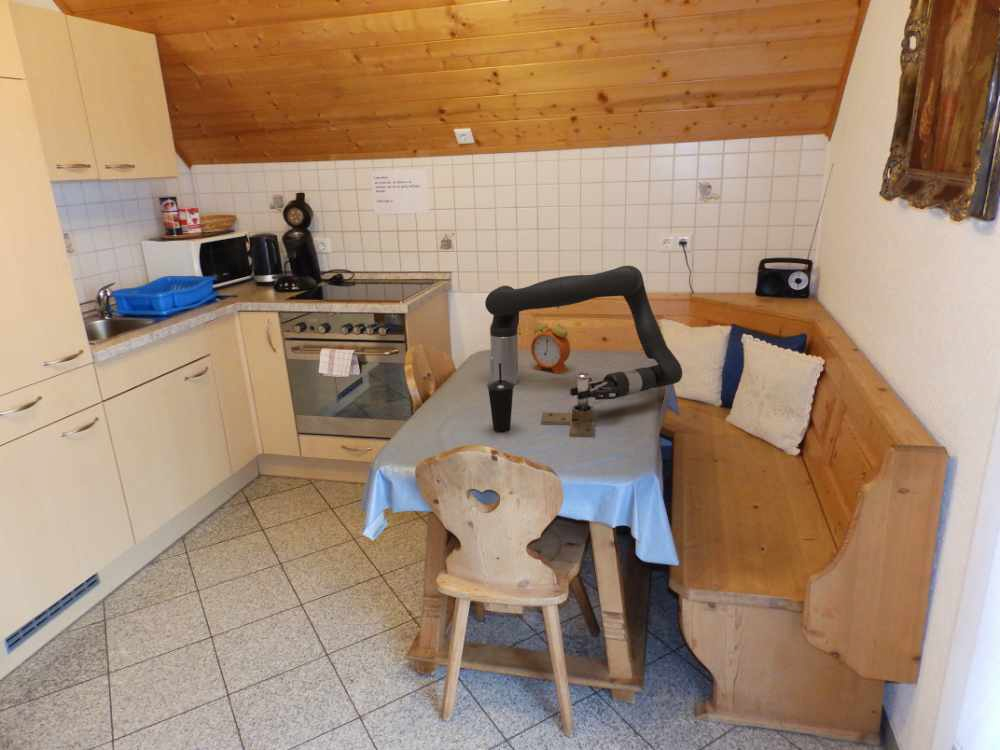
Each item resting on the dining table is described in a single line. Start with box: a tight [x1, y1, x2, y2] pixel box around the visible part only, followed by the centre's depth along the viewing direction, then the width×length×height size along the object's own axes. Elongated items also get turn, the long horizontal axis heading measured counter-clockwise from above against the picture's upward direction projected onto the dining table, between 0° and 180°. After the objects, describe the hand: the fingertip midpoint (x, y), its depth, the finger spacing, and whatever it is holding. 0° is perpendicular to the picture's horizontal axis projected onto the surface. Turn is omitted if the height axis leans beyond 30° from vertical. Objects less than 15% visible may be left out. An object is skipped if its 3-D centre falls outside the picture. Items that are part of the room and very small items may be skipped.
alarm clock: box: [530, 315, 571, 375], centre depth 243 cm, size 13×6×20 cm, turn 55°
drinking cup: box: [486, 363, 515, 434], centre depth 192 cm, size 8×8×20 cm
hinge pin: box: [576, 372, 591, 411], centre depth 197 cm, size 4×4×12 cm
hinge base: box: [540, 404, 596, 438], centre depth 195 cm, size 16×16×4 cm
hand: (574, 394), depth 195 cm, fingers closed on hinge pin, 3 cm apart
